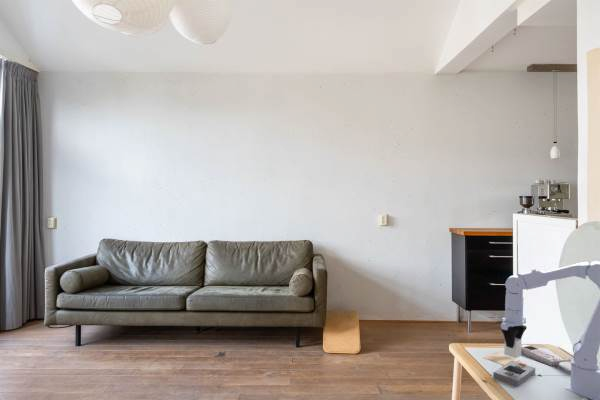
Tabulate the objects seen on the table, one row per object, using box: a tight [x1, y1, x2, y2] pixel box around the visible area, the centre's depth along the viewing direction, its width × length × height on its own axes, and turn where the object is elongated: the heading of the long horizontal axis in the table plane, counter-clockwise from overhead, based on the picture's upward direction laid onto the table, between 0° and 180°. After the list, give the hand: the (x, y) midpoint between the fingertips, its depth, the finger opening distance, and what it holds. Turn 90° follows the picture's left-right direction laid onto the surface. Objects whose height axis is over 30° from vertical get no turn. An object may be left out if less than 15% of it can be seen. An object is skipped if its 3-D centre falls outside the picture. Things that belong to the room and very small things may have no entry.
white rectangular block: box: [503, 338, 522, 359], centre depth 139 cm, size 4×4×6 cm
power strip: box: [492, 361, 536, 388], centre depth 137 cm, size 16×8×4 cm, turn 130°
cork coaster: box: [483, 351, 520, 366], centre depth 151 cm, size 10×10×1 cm
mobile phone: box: [521, 344, 573, 367], centre depth 152 cm, size 6×6×25 cm
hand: (512, 345), depth 139 cm, fingers closed on white rectangular block, 4 cm apart
